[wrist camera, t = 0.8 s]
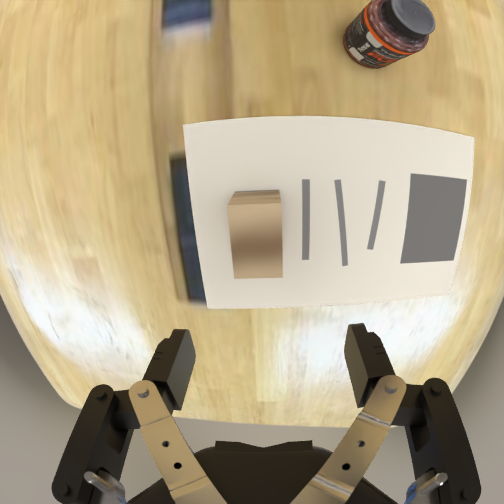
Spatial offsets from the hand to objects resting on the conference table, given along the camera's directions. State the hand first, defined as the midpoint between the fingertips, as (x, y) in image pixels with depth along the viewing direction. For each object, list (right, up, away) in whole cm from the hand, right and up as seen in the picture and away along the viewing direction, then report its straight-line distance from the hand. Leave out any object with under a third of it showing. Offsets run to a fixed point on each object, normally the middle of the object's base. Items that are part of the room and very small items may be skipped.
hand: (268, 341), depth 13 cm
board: (+10, +8, +16) cm, 21 cm away
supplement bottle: (+12, +27, +8) cm, 30 cm away
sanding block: (0, +8, +16) cm, 17 cm away
